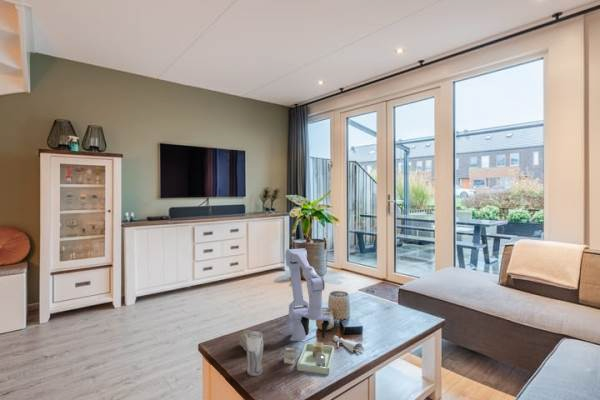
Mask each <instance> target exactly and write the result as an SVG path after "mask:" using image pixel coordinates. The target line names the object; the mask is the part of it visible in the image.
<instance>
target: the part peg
mask: <svg viewBox="0 0 600 400" xmlns="http://www.w3.org/2000/svg"><path fill="white" fill-rule="evenodd" d="M315 366H321V367H325V355H324V354H317V355H316V356H315Z"/></svg>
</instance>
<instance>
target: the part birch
mask: <svg viewBox="0 0 600 400" xmlns="http://www.w3.org/2000/svg"><path fill="white" fill-rule="evenodd" d="M296 353H297V352H296V348H290V347H286V348H285V350H284V352H283V362H284V363H283V364H289V365H290V364H291V365H294V363H295V362H296V360H297V359H296V358H297V356H296V355H297V354H296Z"/></svg>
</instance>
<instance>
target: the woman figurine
mask: <svg viewBox="0 0 600 400" xmlns="http://www.w3.org/2000/svg"><path fill="white" fill-rule="evenodd" d="M332 339H333V341H334V342H335V343H337V346H339V345H340V344H342V345H343V346H344V347H345V348H346V349H347V350H348V351H349V352H351V353H354V351H355V353H357V352H358V353H361V351H365V347H364V346H363V345H362V343H360V342H356V340H355V339H344V338H343V337H340V338H339V336H337V335H334V336H333V338H332Z"/></svg>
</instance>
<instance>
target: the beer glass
mask: <svg viewBox="0 0 600 400" xmlns="http://www.w3.org/2000/svg"><path fill="white" fill-rule="evenodd" d="M245 352H246V358H247V362H248V364H247V369H246V372H247V374H248V375H249V376H252V377H253V376H254V377H256V376H260V375H261V374H262V373H263V366H262V358H263V353H264V334H263V333H262V332H261V331H255V330H254V331H253V332H250V333H248V334H247V338H246V351H245Z"/></svg>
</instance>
